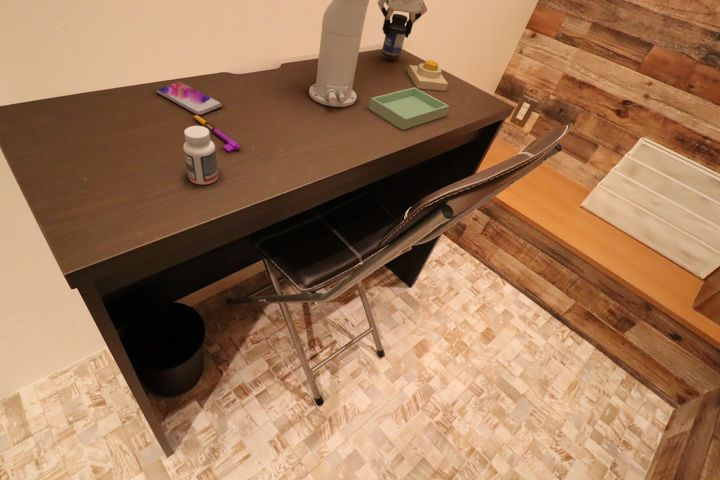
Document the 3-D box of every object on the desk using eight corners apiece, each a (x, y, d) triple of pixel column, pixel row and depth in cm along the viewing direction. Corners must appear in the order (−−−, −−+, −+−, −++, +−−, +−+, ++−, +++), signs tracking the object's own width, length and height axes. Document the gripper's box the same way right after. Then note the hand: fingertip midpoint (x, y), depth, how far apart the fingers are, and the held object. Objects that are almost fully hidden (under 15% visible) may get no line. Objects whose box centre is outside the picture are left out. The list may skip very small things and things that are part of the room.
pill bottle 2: (377, 52, 120) (386, 12, 112) (392, 51, 122) (402, 13, 114) (387, 58, 116) (397, 18, 109) (403, 58, 119) (413, 19, 111)
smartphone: (198, 113, 80) (155, 89, 85) (199, 117, 80) (155, 93, 85) (223, 103, 84) (180, 81, 89) (223, 107, 85) (181, 84, 89)
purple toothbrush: (242, 148, 73) (197, 117, 80) (240, 144, 72) (195, 112, 79) (231, 155, 73) (187, 122, 79) (230, 150, 72) (185, 118, 78)
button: (438, 72, 108) (440, 66, 107) (425, 71, 107) (427, 64, 106) (434, 67, 111) (436, 61, 109) (421, 65, 110) (423, 59, 109)
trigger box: (445, 91, 108) (450, 77, 105) (416, 88, 107) (421, 74, 104) (434, 75, 116) (438, 61, 113) (407, 72, 115) (411, 58, 112)
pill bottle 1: (220, 170, 68) (216, 125, 62) (215, 186, 65) (210, 141, 58) (191, 167, 68) (184, 122, 61) (185, 184, 64) (176, 137, 58)
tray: (411, 97, 102) (414, 87, 100) (445, 116, 96) (449, 105, 94) (368, 108, 94) (370, 97, 92) (402, 130, 88) (405, 119, 86)
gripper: (386, -41, 98) (371, 35, 111) (446, -31, 101) (424, 42, 114) (381, -45, 103) (367, 28, 116) (438, -36, 106) (418, 34, 119)
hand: (395, 34), depth 115 cm, fingers closed on pill bottle 2, 6 cm apart
